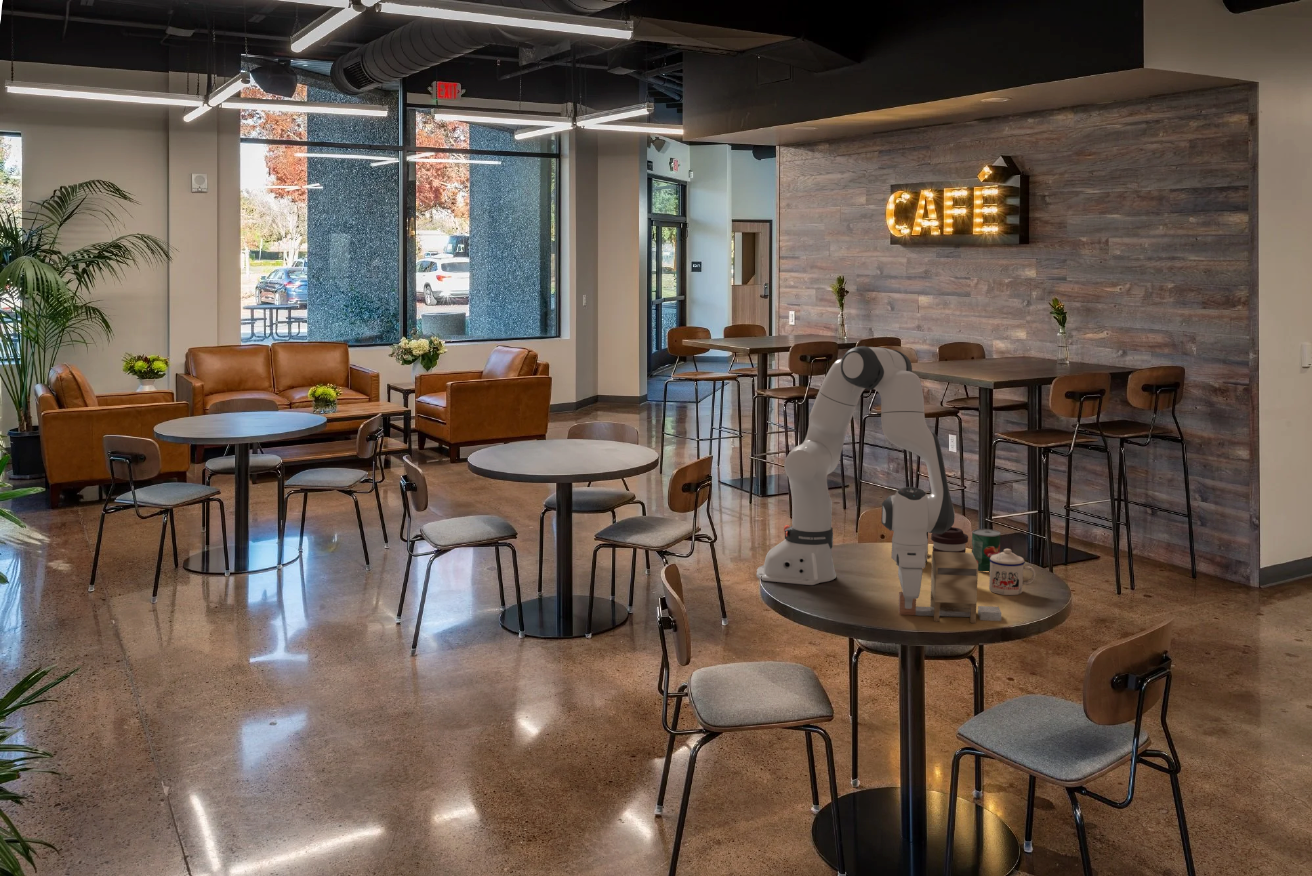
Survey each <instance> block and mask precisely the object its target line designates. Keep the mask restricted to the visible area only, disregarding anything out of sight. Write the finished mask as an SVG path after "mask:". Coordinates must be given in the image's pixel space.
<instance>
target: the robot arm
mask: <svg viewBox="0 0 1312 876" xmlns="http://www.w3.org/2000/svg"><path fill="white" fill-rule="evenodd" d="M864 390H868V391H871V390H875V391H877V393H878V394H879V396H880V402H881V403H880V405H881V406H880V419H881V421H880V422H881V429H882V433H883V435H884V437H885V438H886V440H887V441H889V442H890V443H891V444H892V445H894V446H896V447H898V448H900V449H902V450H905V451H908V452H911V453H913V454H915V455H917V456H919V457H920V458H921V459H922V460H923V461H924V463H925V465H926V468H927V474H928V475H927V476H928V480H929V485H930V492H931V493H930V494H927V492H926V491H925V490H923V489H921V488H918V487H914V486H906V487H901V488H899V489H898V490H896V491H895V494H893V495H889V496H887V497H886V498H885V499H884V501H883V502H882V503H881V524H882V525H883V526H884V527H885V528H886V529H887V530H889V531H890V532H891V531H893V534H892V538H891V559H892V560H893V561H894V562H895V565H896V566H897V567H898V568H897V572H898V573H897V575H898V579H899V582H900V587H901V592H903V595H904V598H905V604H904V606H905V608H906V609H911V608H912V601H913V599H916V600H917V599H918V598H919V597H920V594H921V589H922V588H921V586H922V579H923V569H925V568H926V563H925V562H926V561H927V562H928V556H927V550H928V551H929V538H928V539H927V532H928V534H932V533H936V534H943V533H945V532H946V531H947V530H949V529H950V528H951V527H954V526H953V525H954V524H955V517H956V515H955V514H956V513H955V509H954V505H953V501H952V500H953V499H952V498H951V493H950V490H949V489H950V488H949V484H948V480H947V479H948V478H947V472H946V468H945V462H944V457H943V452H942V448H941V445H940V441H939V438H938V436H937V434H935V433H934V432H931V430H930V429H929V427H928V425H927V421H926V419H925V418H926V416H925V400H924V392H923V386H922V381H921V379H920V377H919V376H918V375H917V374H916V373H914V372H913V364H912V362H911V360H910V358H909V357H908V356H907V355H906V354H905V353H903V352H901V351H898V350H897V349H891V348H886V347H881V346H877V347H875V346H874V347H873V346H866V345H861V346H855V347H852V348H850V349H849V350H847V351H846V352H845V353H844V354H843V356H842V358H839V359H836V360H835V361H834V363H832V365H831V366H830V368H829V370H828V372H827V373H826V376H825V377H824V379H823V381H822V383H821V386H820V388H819V390H818V393H817V395H816V398H815V400H814V403H813V406H812V408H811V410H810V413H809V416H808V419H809V421H808V428H807V432H806V436H805V438H804V440H803V442H802V443H801V444H798V445H796V446H795V447H793V448H792V449H791V450H790V451H789V453H788V455H787V456H786V457H785V460H784V464H783V465H784V467H783V468H784V471H785V474H786V476H787V477H788V482H789V488H790V494H791V505H792V508H791V509H792V511H791V514H792V515H791V517H792V519H791V521H792V523H791V525H789V524H786V525H785V526H784V527H783V532H784V540H782V541H781V542H779V543H778V544H777V545H775V546H773V547H772V548H770V549H769V550H768V552H767V553H766V556H765V558H764V563H763V565H760V566H758V568H757V569H756V578H757V579H759V580H761V576H762V580H761V581H763V582H764V581H766V582H775V583H776V582H777V583H786V584H795V585H804V586H805V585H807V586H814V585H817V584H819V583H826V582H830V581H833V580H834V579H836V577H837V574H836V571H835V570H836V569H835V566H834V560H833V545H834V530H833V526H832V521H833V519H832V515H833V513H832V512H833V511H832V509H833V504H832V503H833V501H832V498H831V496H830V491H829V487H828V475H829V474H832V473H833V472H834V471H836V468H837V467H838V465H839V463H840V461H841V455H842V451H843V447H844V444H845V438H846V434H847V431H848V428H849V426H850V423H851V421H852V418H853V416H854V414H855V411H856V408H857V405H858V403H859V400H860V397H861V395H862V393H863V392H864Z"/></svg>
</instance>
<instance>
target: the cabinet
mask: <svg viewBox="0 0 1312 876" xmlns="http://www.w3.org/2000/svg"><path fill="white" fill-rule="evenodd" d="M978 575H979V572H978V563H977V561H976V559H975V557H974V555H973V553H972V552H965V553H961V552H933V550H932V552H931V575H930V577H931V578H930V604H929V607H934V616H933V621H934V622H937V621H939V622H940V616H939V611H940V607H954V608H971V610H970V617H969V623H970V624H976V623H977V622H976V621H977V601H978V600H977V599H978Z"/></svg>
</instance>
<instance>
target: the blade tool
mask: <svg viewBox="0 0 1312 876" xmlns="http://www.w3.org/2000/svg"><path fill="white" fill-rule="evenodd" d="M904 604H905V598H904V595H903V591H899V592H898V614H899V616H900V615H901V616H902V615H903V616H904V615H905V616H921V617H922V616H923V617H928V616H929V617H934V607H930V606H917V599H913V601H912V608H911V609H906V608H905V606H904ZM970 610H971V608H954V607H940V611H939V617H956V618H958V617H959V618H961V617H962V618H964V617H965V618H966V617H967V618H970Z"/></svg>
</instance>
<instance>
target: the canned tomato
mask: <svg viewBox="0 0 1312 876" xmlns="http://www.w3.org/2000/svg"><path fill="white" fill-rule="evenodd" d="M971 532H972V533H971V534H972V535H971V536H972V537H971V553H973V555H974V557H975V559H976V561H977V563H978V571H989V572H990V557H991V556H992V555H996V554H999V553H1001V551H1000V550H1001V535H1002V533H1001V532H1000V531H999V530H995V529H989V528H977V529H973V530H972V531H971Z"/></svg>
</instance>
